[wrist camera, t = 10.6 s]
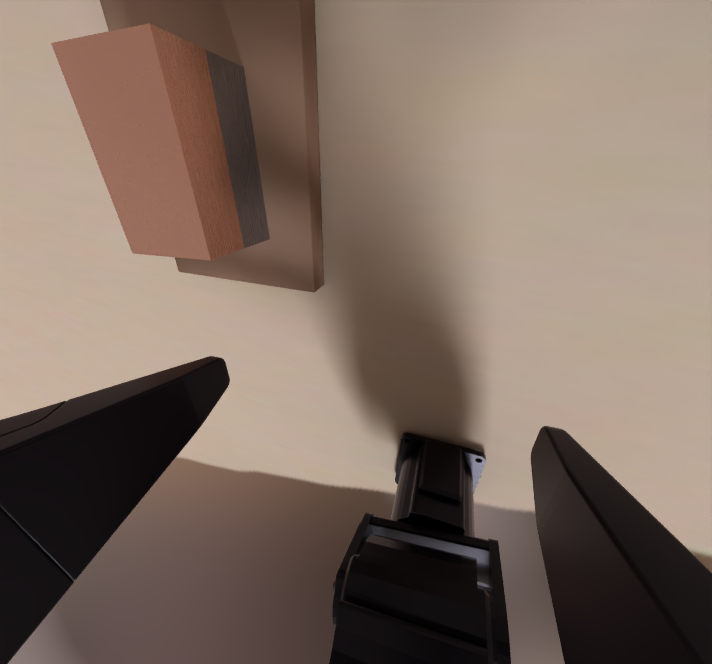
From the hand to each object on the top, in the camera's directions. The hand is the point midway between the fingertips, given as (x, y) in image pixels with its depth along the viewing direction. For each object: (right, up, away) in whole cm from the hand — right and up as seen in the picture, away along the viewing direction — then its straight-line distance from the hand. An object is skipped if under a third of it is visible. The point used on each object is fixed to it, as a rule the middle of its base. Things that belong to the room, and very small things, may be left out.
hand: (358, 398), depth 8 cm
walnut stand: (-7, +12, +10) cm, 17 cm away
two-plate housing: (-8, +11, +8) cm, 16 cm away
